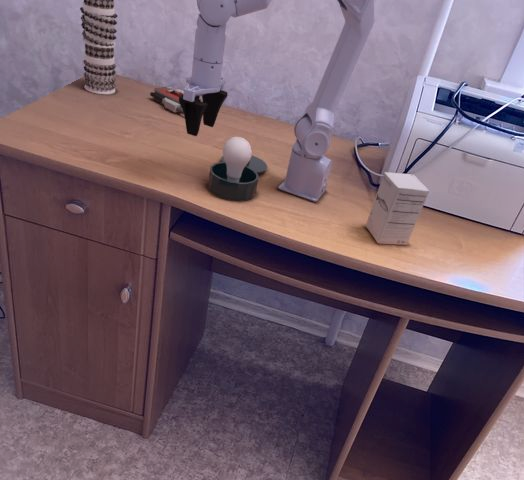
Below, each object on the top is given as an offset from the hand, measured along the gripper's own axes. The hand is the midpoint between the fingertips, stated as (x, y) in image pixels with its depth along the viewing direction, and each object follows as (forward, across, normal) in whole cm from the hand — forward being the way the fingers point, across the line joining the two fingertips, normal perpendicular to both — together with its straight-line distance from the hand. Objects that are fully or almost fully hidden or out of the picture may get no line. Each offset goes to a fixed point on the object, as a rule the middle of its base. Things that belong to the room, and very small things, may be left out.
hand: (200, 129), depth 111 cm
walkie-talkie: (+11, -37, -24) cm, 45 cm away
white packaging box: (+11, -4, +44) cm, 45 cm away
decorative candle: (+11, -32, -47) cm, 58 cm away
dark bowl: (+10, 0, +9) cm, 14 cm away
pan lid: (+10, -14, +6) cm, 18 cm away
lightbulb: (+10, 0, +9) cm, 14 cm away
